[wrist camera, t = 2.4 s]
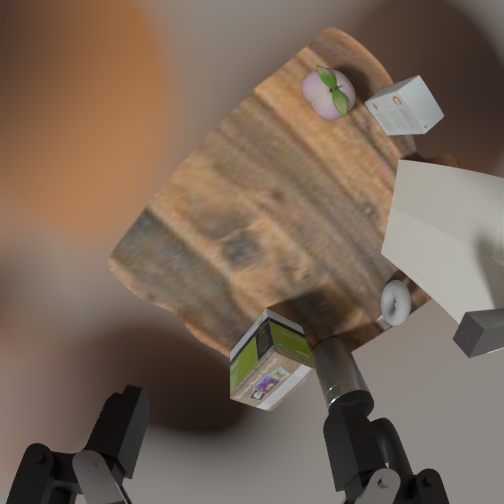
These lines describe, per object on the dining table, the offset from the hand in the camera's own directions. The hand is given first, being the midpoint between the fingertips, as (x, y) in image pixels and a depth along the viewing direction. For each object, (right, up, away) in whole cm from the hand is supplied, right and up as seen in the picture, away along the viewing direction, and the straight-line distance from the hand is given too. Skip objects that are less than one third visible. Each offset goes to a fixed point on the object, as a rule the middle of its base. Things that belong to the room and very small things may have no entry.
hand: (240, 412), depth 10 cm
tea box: (+4, -13, +49) cm, 51 cm away
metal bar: (+31, -1, +9) cm, 33 cm away
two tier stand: (+35, +15, +40) cm, 55 cm away
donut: (+31, -2, +47) cm, 56 cm away
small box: (+26, +34, +33) cm, 54 cm away
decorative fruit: (+13, +34, +32) cm, 49 cm away
